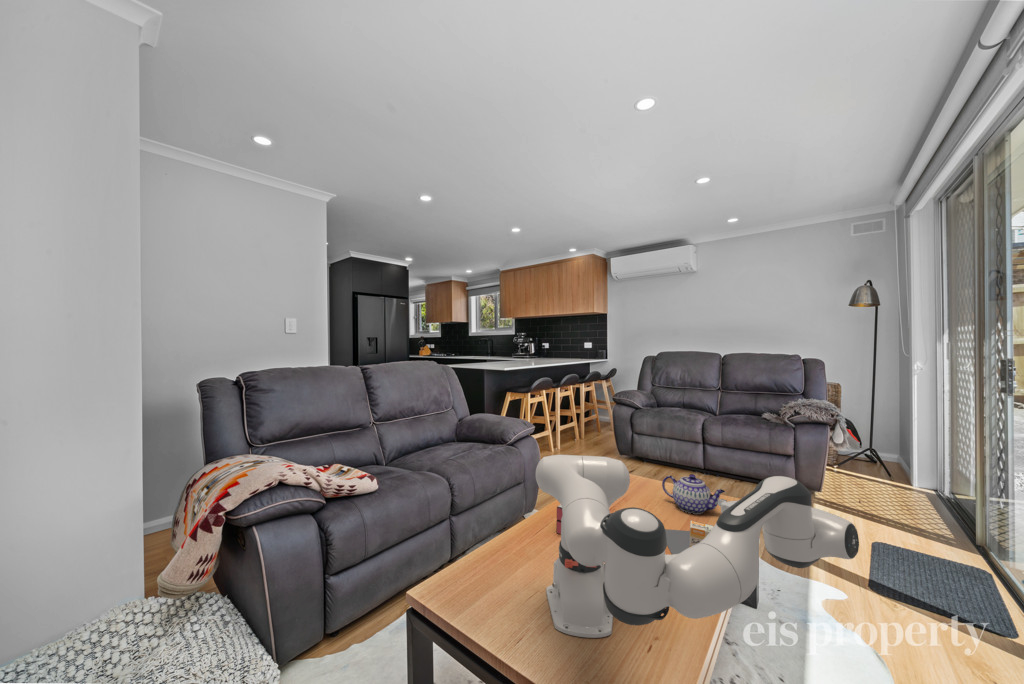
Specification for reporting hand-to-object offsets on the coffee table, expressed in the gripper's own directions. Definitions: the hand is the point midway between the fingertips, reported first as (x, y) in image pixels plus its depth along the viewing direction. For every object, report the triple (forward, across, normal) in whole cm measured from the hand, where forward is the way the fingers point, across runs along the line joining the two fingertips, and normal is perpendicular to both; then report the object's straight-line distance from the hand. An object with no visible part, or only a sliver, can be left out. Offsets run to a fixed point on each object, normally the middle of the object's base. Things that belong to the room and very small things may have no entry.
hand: (732, 500), depth 109 cm
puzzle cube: (+47, -25, -23) cm, 58 cm away
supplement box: (+15, +4, -25) cm, 30 cm away
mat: (+27, +9, -24) cm, 37 cm away
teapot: (+50, +33, -21) cm, 63 cm away
